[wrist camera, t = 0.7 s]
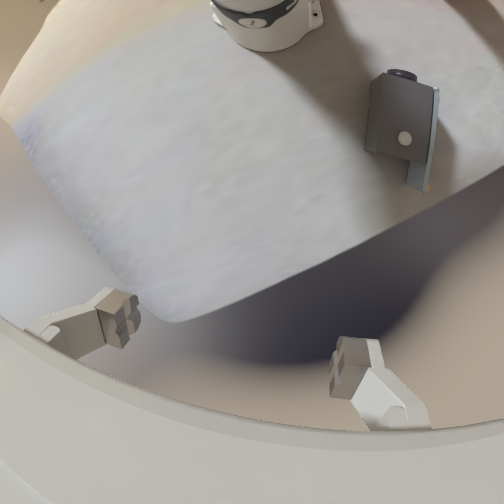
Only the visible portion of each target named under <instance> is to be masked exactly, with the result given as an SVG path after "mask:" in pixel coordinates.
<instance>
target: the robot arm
mask: <svg viewBox="0 0 504 504" xmlns="http://www.w3.org/2000/svg"><path fill="white" fill-rule="evenodd" d="M211 1H212V2H211V3H210V5H211V8H212V9H213V11H214V14H213V20H214V22H215V23H216V24H218V25H219V26H221V27H223V28H225V29H226V30H227V31H228V33H229V34H230V36H231V37H232V38H233V39H234V40H235V41H236V42H237V43H238V44H240V45H241V46H243V47H245V48H248V49H251V50H254V51H261V52H272V51H278V50H282V49H285V48H288V47H290V46H292V45H294V44H295V43H297V42H298V41H299V40H300V39H301V38H302V37H303V36H304V35H305V34H306V33H308V32H309V31H311V30H314V29H317V28H319V27H321V26H322V25H323V23H324V20H323V15H322V10H321V6H320V1H319V0H211ZM313 14H317V15H318V16H313ZM138 304H139V301H138V297H137V296H136V295H134V294H131V293H128V292H124V291H121V290H118V289H114V288H111V287H104V288H103V289H102V290H101V291H100V292H99V293H97V294H96V295H95V296H94V297H93V298H92V299H91V300H90V301H88V302H87V303H86V304H85V305H83V304H80V305H78V306H74V307H71V308H67V309H64V310H60V311H57V312H54V313H50V314H47V315H44V316H41V317H38V318H37V319H36V320H35V321H34V322H32V323H31V324H30V325H29V326H28V327H27V328H26V329H25V330H24V331H23V330H22V329H20V328H18V327H17V326H15V325H14V324H12V323H10V322H9V321H8V320H6V319H5V318H3V317H2V316H0V504H504V419H498V420H493V421H488V422H483V423H477V424H471V425H466V426H458V427H450V428H441V429H432V428H431V424H430V419H429V416H428V411H427V407H426V405H425V404H424V403H423V402H422V401H421V400H420V399H419V398H418V397H417V396H416V395H415V394H414V393H412V392H411V390H409V389H408V388H407V387H406V386H405V385H404V384H403V383H402V382H401V381H400V380H399V379H398V378H397V377H396V376H395V375H394V374H393V373H392V372H391V371H390V370H389V369H385V365H384V361H383V357H382V353H381V349H380V345H379V341H378V340H376V339H361V338H353V337H344V336H340V338H339V339H338V342H337V350H336V351H335V352H334V353H333V355H332V358H331V363H330V369H329V375H330V377H331V378H332V379H331V382H330V397H332V398H341V399H350V400H351V402H352V403H353V405H354V407H355V408H356V410H357V411H358V413H359V414H360V416H361V417H362V419H363V420H364V421H365V423H366V425H367V426H368V428H369V429H370V431H346V430H330V429H320V428H310V427H301V426H293V425H286V424H280V423H273V422H267V421H262V420H256V419H251V418H246V417H241V416H237V415H232V414H228V413H223V412H219V411H215V410H211V409H207V408H204V407H200V406H196V405H193V404H189V403H186V402H183V401H179V400H176V399H173V398H169V397H166V396H163V395H161V394H158V393H155V392H152V391H149V390H146V389H143V388H141V387H138V386H135V385H133V384H130V383H127V382H125V381H122V380H120V379H117V378H115V377H113V376H110V375H108V374H106V373H103V372H101V371H99V370H97V369H94V368H92V367H90V366H88V365H86V364H84V363H82V362H79V361H77V359H79V358H80V357H83V356H84V355H86V354H88V353H90V352H92V351H94V350H96V349H98V348H100V347H102V346H104V345H106V344H108V345H111V346H114V347H117V348H120V349H123V347H124V346H125V345H126V344H127V342H128V341H129V340H130V337H129V335H131V334H134V333H135V332H136V331H137V329H138V328H139V325H140V322H141V315H140V311H139V310H138V309H137V305H138Z"/></svg>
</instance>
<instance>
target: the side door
mask: <svg viewBox="0 0 504 504" xmlns="http://www.w3.org/2000/svg"><path fill="white" fill-rule="evenodd" d="M438 105H439V88H438V87H434V88H433V103H432V115H431V126H430V135H429V143H428V150H427V157H426V164H425V165H423V164H420V163H416V162H412V161H410V162H409V169H408V174H407V180H406V183H407V184H409V185H411V186H413V187H415V188H416V189H418V190H420V191H422V192H425V193H426V192H427V191H429V189H430V185H429V184H428V182H429V177H430V171H431V165H432V159H433V152H434V145H435V137H436V128H437V118H438Z"/></svg>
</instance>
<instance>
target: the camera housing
mask: <svg viewBox="0 0 504 504" xmlns="http://www.w3.org/2000/svg"><path fill="white" fill-rule="evenodd" d="M432 103H433V87H430V86H427V85H424V84H421V83H418V82H417V76H416V75H415V74H413V73H410V72H408V71H404V70H398V69H390V70H388V71H387V73H382V74H381V75H379V76H378V77H377V78H376V79H374V80H373V81H372V82H371V92H370V104H369V114H368V124H367V132H366V140H365V148H364V150H367V151H371V152H375V153H379V154H384V155H388V156H392V157H397V158H401V159H405V160H408V161H412V162H416V163H420V164H423V165H425V164H426V157H427V150H428V143H429V135H430V126H431V115H432Z"/></svg>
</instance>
